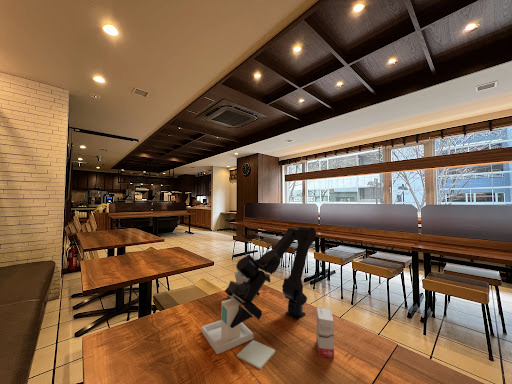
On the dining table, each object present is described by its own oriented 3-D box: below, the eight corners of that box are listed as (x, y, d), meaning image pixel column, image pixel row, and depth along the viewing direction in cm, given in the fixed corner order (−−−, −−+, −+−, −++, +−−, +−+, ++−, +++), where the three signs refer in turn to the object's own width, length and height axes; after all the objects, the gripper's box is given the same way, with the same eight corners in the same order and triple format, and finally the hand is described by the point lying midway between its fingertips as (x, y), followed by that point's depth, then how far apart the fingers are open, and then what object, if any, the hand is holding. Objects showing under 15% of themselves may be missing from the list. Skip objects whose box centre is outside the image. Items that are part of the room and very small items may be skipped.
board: (253, 342, 75) (253, 339, 75) (275, 353, 70) (275, 350, 70) (236, 358, 68) (236, 354, 68) (260, 371, 62) (260, 367, 63)
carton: (233, 333, 79) (233, 298, 80) (240, 340, 75) (240, 303, 75) (220, 338, 76) (221, 301, 77) (227, 346, 72) (227, 307, 72)
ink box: (334, 359, 68) (334, 321, 68) (318, 356, 69) (318, 319, 69) (330, 341, 76) (330, 307, 76) (316, 339, 77) (316, 306, 77)
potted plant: (260, 301, 105) (261, 261, 106) (233, 301, 106) (233, 260, 106) (260, 291, 118) (261, 254, 119) (236, 290, 118) (236, 254, 119)
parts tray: (234, 321, 88) (234, 315, 88) (253, 340, 76) (253, 333, 76) (201, 333, 80) (201, 326, 80) (216, 355, 68) (217, 347, 69)
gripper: (229, 266, 87) (202, 300, 80) (255, 280, 71) (224, 325, 64) (245, 281, 91) (221, 316, 84) (273, 298, 75) (246, 342, 69)
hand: (227, 323), depth 75 cm, fingers closed on carton, 5 cm apart
